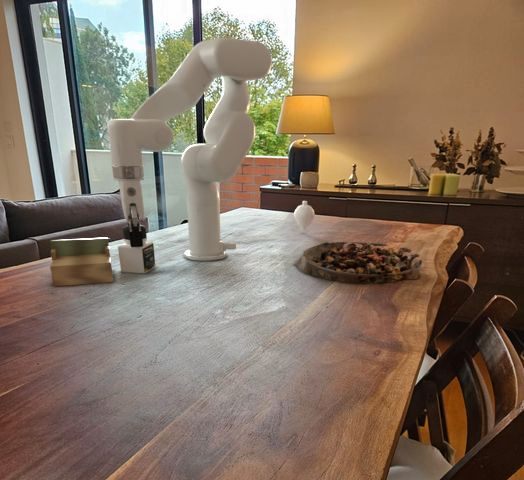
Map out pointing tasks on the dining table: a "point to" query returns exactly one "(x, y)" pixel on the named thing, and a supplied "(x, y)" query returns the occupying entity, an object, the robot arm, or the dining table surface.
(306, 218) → the spinning top
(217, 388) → the dining table surface
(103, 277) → the spice rack
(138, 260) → the medicine bottle
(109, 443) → the dining table surface
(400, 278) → the food dish
